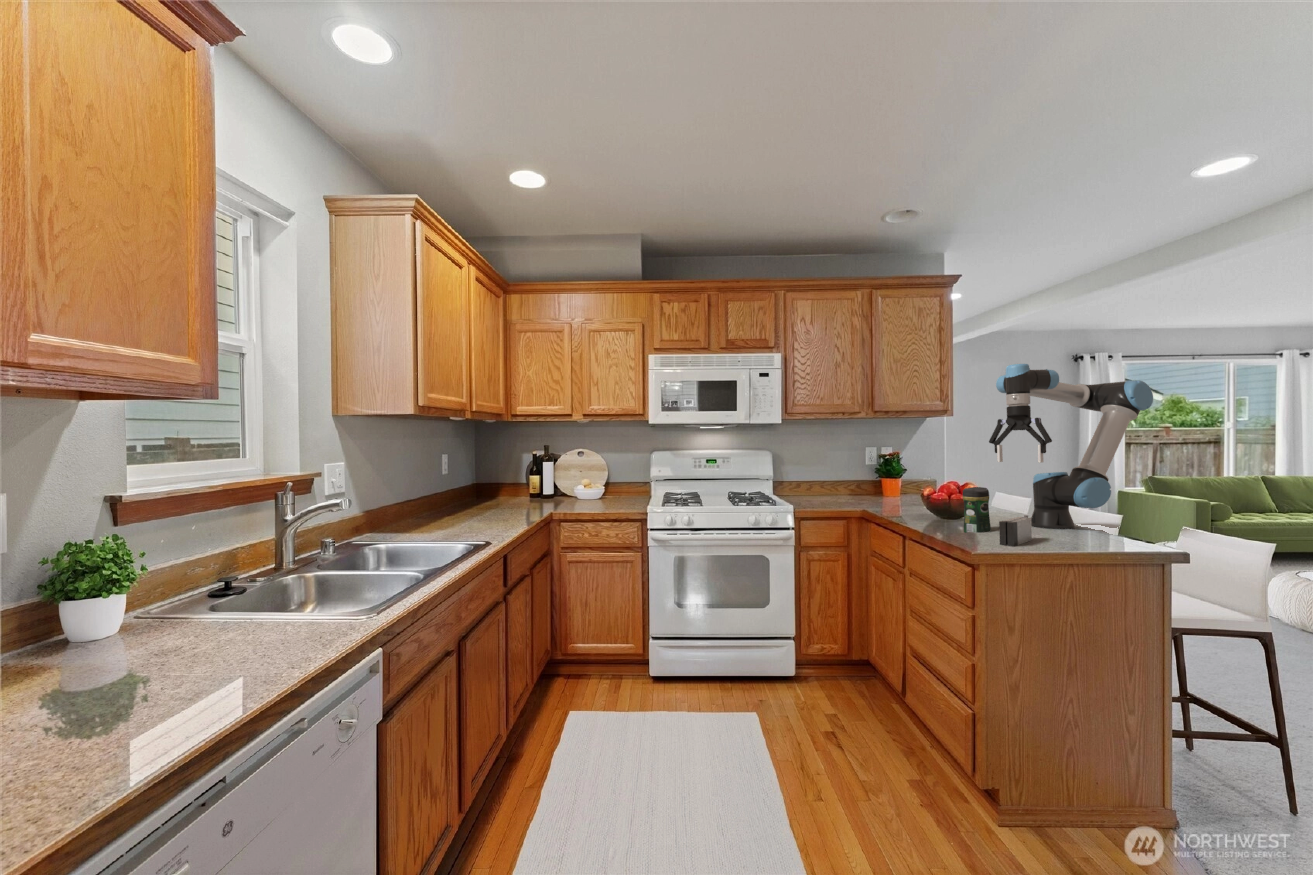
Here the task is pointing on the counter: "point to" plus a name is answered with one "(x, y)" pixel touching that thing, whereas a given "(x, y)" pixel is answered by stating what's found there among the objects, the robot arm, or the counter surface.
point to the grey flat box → (1019, 531)
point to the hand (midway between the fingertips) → (1020, 462)
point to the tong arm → (1005, 530)
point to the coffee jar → (976, 510)
